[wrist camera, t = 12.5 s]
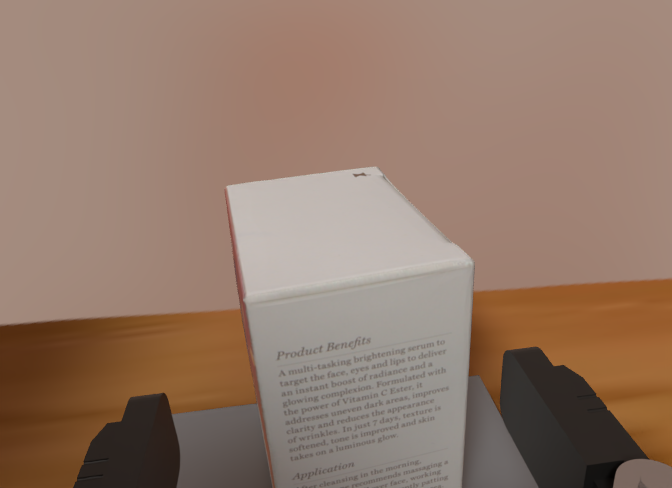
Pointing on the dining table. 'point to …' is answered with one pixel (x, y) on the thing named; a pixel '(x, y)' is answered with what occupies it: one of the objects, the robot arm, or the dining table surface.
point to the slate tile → (252, 466)
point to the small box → (352, 331)
